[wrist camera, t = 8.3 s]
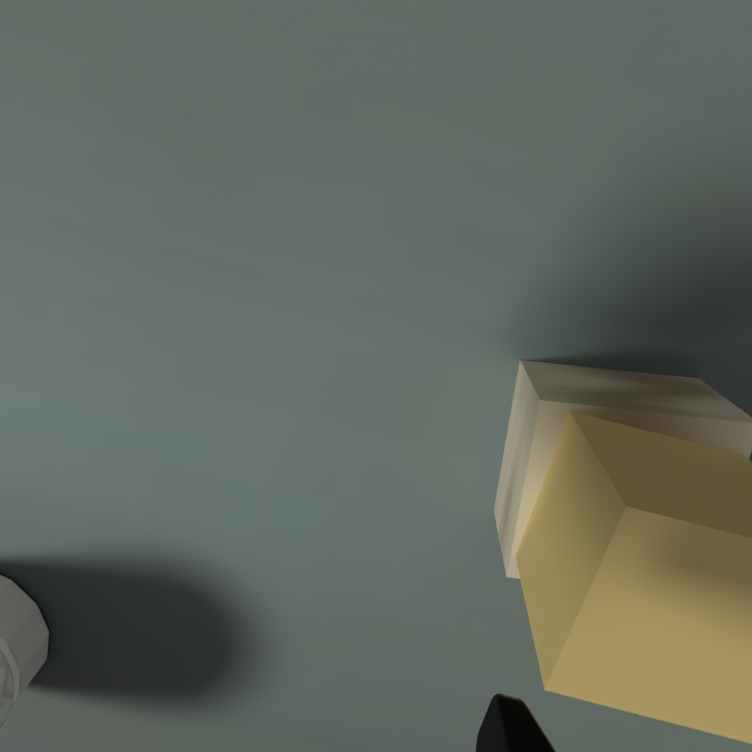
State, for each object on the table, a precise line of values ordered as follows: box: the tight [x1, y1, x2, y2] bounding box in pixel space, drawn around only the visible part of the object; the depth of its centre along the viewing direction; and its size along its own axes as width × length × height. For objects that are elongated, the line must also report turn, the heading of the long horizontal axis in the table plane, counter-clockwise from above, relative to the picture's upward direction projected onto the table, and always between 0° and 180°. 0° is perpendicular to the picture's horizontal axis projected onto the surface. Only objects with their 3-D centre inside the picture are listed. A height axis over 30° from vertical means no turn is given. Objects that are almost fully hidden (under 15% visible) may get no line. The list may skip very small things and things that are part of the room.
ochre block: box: [515, 411, 752, 744], centre depth 15 cm, size 5×5×5 cm
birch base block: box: [494, 360, 752, 579], centre depth 19 cm, size 6×6×4 cm
